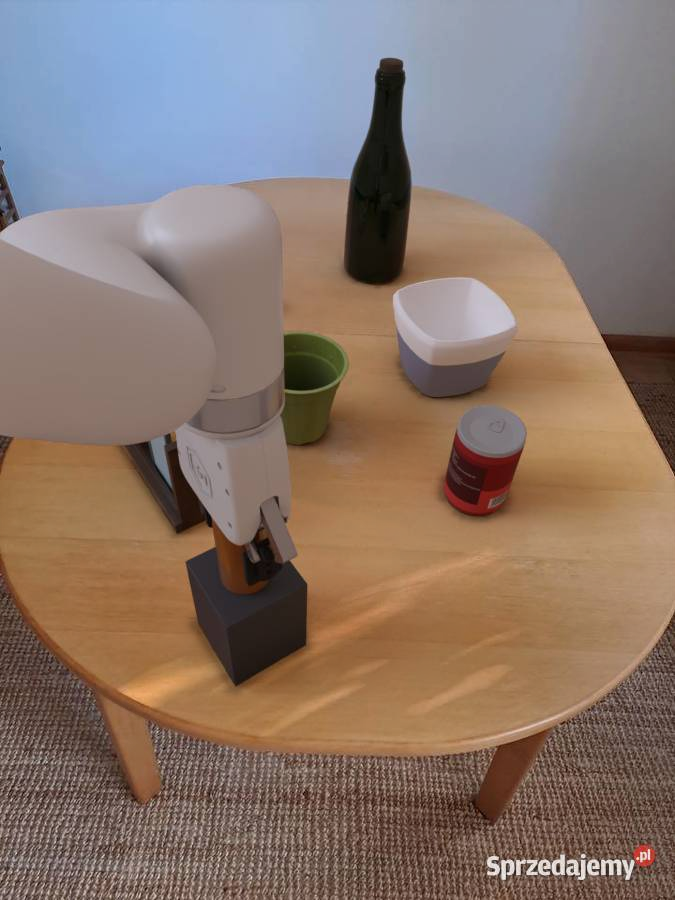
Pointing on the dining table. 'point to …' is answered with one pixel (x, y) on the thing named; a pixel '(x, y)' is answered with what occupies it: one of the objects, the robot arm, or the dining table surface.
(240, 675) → the stand
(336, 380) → the plant pot
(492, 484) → the canned food
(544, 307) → the dining table surface
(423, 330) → the bowl
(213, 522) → the orange-brown cylinder
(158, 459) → the pane
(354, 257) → the wine bottle
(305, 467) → the dining table surface
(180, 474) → the window frame
